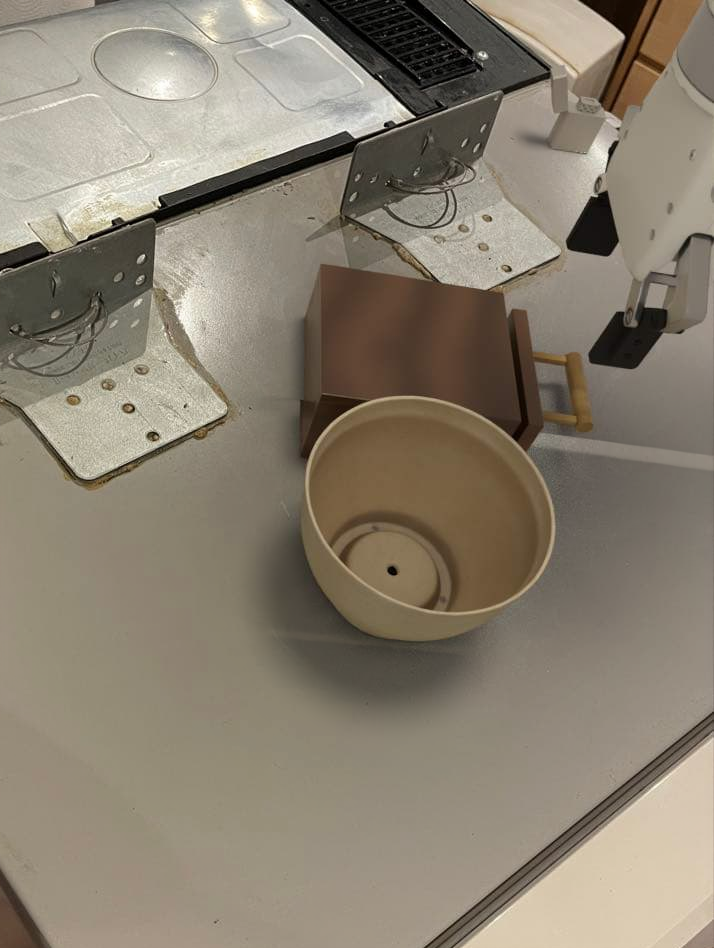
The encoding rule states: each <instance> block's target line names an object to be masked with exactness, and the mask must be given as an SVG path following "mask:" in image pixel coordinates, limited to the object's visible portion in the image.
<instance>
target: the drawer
mask: <svg viewBox="0 0 714 948" xmlns="http://www.w3.org/2000/svg"><path fill="white" fill-rule="evenodd" d="M507 321H508V329H509V336H510V343H511V350H512V358H513V365H514V372H515V380H516V387H517V394H518V401H519V409H520V416H521V422H520V424H519V426H518V427H517V429H516V430H515V432H514V433H513V435H512V438H513V439H514V440H515V441H516V442H517V443H518V444H519V445H520V447H521V448H522V449H523V450H524V451H525V452H526V453H527V452H528V451H529V449H530V448H531V447H532V445H533V444H534V442H535V441H536V439H537V438H538V436H539V434H540V433H541V432H542V430H543V429H544V427H545V423H547V424H548V423H550V424H554V425H555V424H556V425H562V426H571V427H574V429H575V431H576V432H578V433H582V434H583V433H588V432H591V431H592V430H593V429H594V426H595V424H594V418H593V412H592V408H591V407H592V406H591V402H590V396H589V391H588V386H587V380H586V375H585V369H584V364H583V359H582V354H581V353H579V352H577V351H571V352H568V353H566V354H565V355H562V354H556V353H548V352H542V351H535V350H533V349H534V348H533V344H532V343H533V342H532V337H531V330H530V325H529V316H528V311H527V310H525V309H519V308H511V311H510V312H509V313H508V315H507ZM535 363H540V364H547V365H553V366H559V367H560V366H561V367H564V372H565V378H566V383H567V389H568V396H569V400H570V406H571V412H572V414H565V413H559V412H551V411H543V409H542V402H541V395H540V390H539V383H538V382H539V381H538V375H537V370H536V364H535Z"/></svg>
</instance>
